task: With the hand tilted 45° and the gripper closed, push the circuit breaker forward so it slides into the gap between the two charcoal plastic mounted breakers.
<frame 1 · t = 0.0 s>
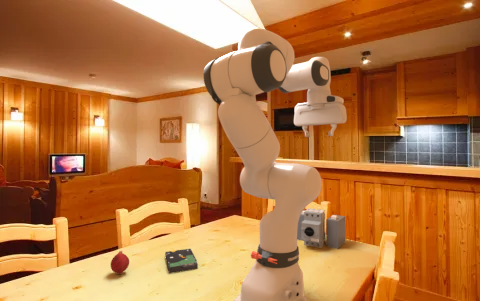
hand: (318, 136, 101), 48 cm above the table, tool pointing down, fingers open, 8 cm apart
onion: (120, 274, 90), on the table
disk drive: (180, 264, 99), on the table
circuit breaker: (313, 246, 115), on the table
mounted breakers: (319, 240, 122), on the table
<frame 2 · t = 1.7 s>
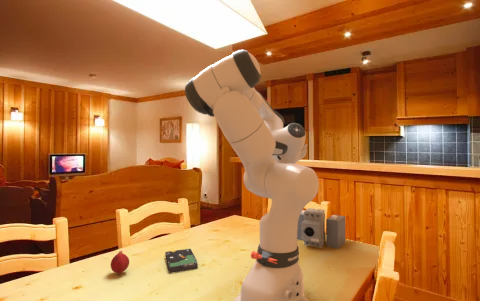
hand: (284, 169, 122), 34 cm above the table, tool tilted 55°, fingers open, 8 cm apart
nothing on the table moved.
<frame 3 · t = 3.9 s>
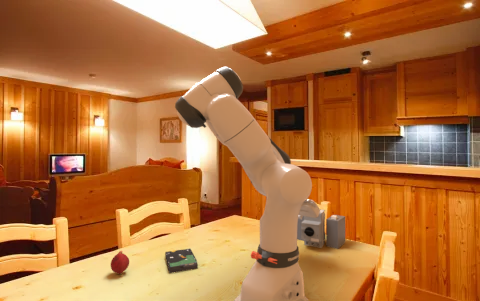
hand: (298, 217, 107), 15 cm above the table, tool tilted 45°, fingers closed
nothing on the table moved.
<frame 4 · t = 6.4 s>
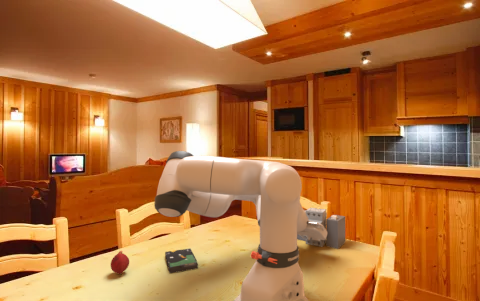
hand: (307, 237, 112), 5 cm above the table, tool tilted 45°, fingers closed
circuit breaker: (314, 245, 116), on the table, touching gripper
everything else where it was.
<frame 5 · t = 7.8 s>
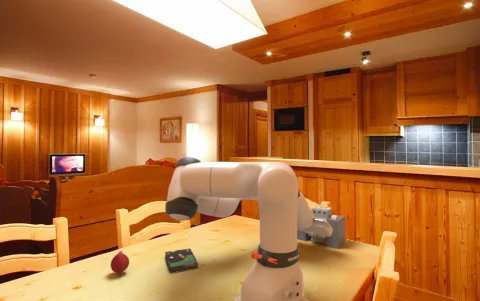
hand: (312, 234, 115), 5 cm above the table, tool tilted 45°, fingers closed
circuit breaker: (319, 242, 120), on the table, touching gripper
everything else where it was.
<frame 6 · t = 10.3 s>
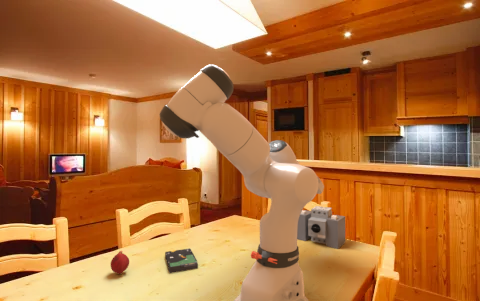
hand: (303, 195, 107), 24 cm above the table, tool tilted 45°, fingers closed
circuit breaker: (320, 242, 120), on the table
everything else where it was.
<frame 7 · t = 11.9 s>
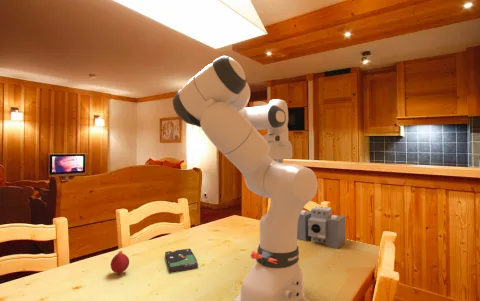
hand: (278, 170, 112), 34 cm above the table, tool pointing down, fingers closed
nothing on the table moved.
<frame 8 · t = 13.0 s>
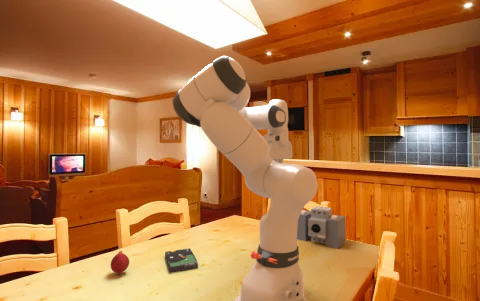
hand: (278, 170, 112), 34 cm above the table, tool pointing down, fingers closed
nothing on the table moved.
at the end: circuit breaker 2.4 cm from the target spot, on the table; circuit breaker tilted 0°; circuit breaker moved 6.3 cm from its start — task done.
